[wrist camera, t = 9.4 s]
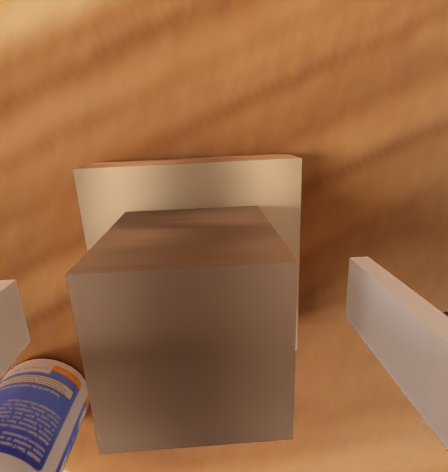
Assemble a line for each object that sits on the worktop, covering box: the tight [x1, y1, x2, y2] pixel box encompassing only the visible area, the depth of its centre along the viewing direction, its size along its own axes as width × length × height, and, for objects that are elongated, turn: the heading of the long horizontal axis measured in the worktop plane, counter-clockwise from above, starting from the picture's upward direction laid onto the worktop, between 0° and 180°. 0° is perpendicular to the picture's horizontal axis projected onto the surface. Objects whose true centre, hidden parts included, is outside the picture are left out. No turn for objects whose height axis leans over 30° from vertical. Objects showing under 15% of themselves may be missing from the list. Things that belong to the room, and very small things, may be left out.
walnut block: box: [66, 206, 298, 454], centre depth 13 cm, size 6×6×7 cm
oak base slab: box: [73, 153, 302, 351], centre depth 18 cm, size 10×10×3 cm
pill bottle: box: [0, 359, 89, 472], centre depth 17 cm, size 5×5×10 cm
